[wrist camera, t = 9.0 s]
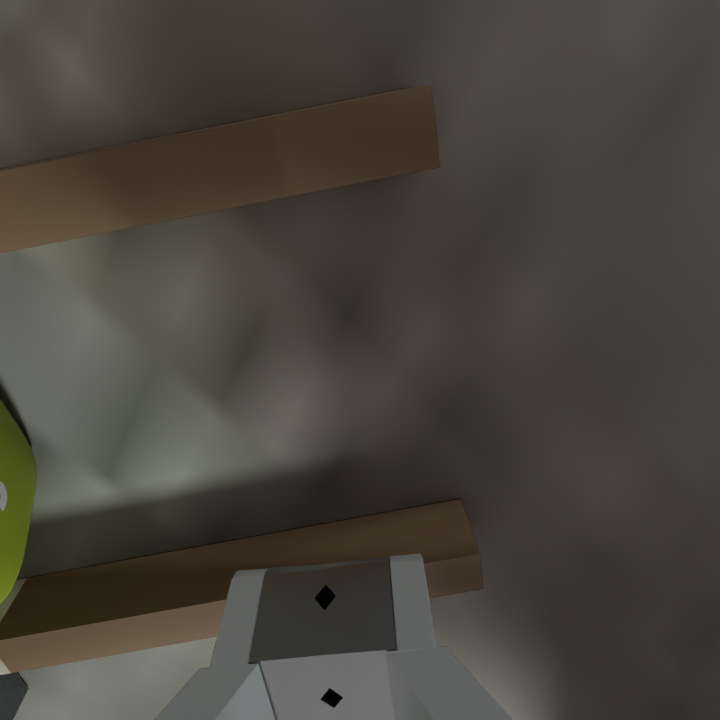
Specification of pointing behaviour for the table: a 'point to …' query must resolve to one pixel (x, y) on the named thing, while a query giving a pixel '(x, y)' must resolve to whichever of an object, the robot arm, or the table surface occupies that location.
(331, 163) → the beam slot
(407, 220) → the table surface
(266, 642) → the robot arm
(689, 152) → the table surface
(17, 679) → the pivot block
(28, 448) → the dumbbell
